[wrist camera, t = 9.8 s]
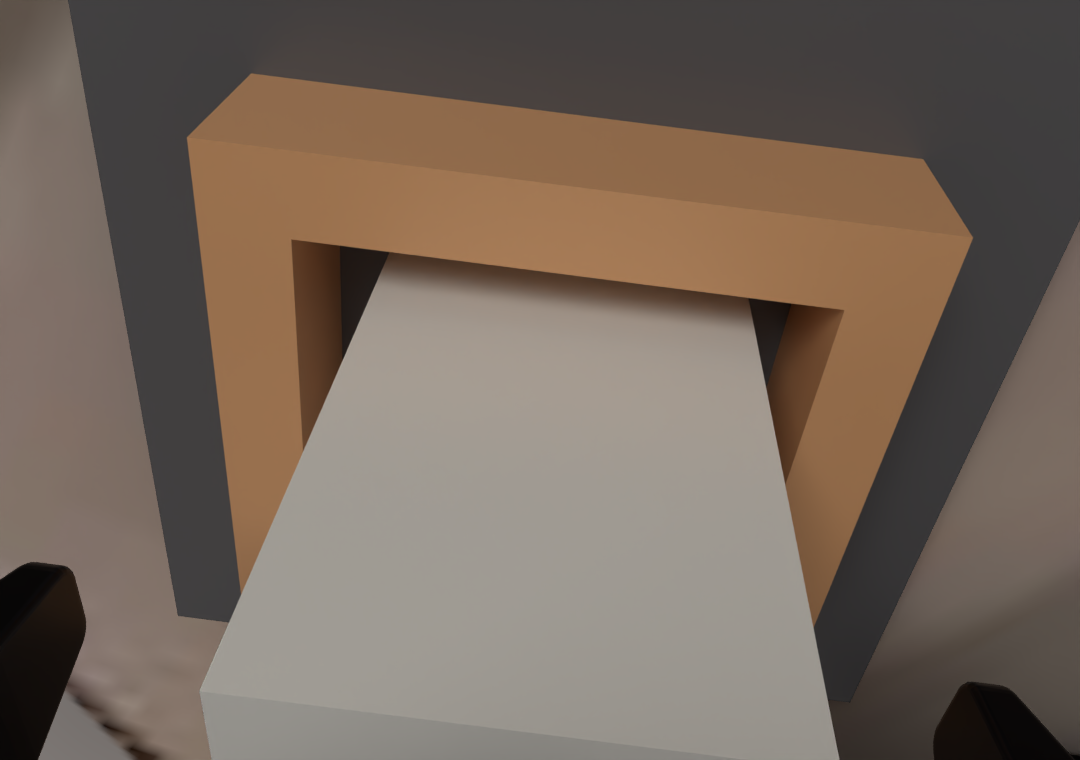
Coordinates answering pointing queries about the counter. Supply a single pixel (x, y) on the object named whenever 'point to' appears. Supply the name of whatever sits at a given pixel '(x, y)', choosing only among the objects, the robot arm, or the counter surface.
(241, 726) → the light gray block
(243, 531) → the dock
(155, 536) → the counter surface
